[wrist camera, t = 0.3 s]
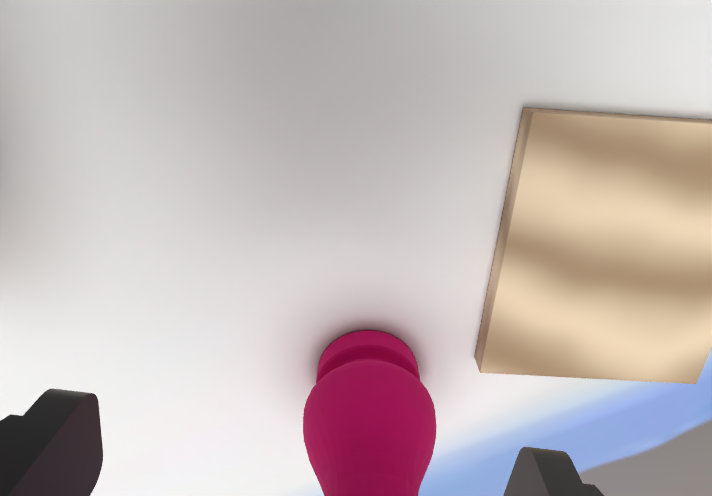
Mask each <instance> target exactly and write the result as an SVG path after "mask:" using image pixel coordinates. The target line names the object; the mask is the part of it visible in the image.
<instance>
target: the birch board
mask: <svg viewBox="0 0 712 496" xmlns="http://www.w3.org/2000/svg"><path fill="white" fill-rule="evenodd" d="M711 348H712V120H701V119H686V118H671V117H656V116H641V115H626V114H612V113H597V112H582V111H567V110H552V109H537V108H523V112H522V117H521V122H520V127H519V132H518V137H517V142H516V148H515V153H514V158H513V163H512V168H511V173H510V178H509V183H508V188H507V193H506V199H505V204H504V209H503V214H502V219H501V224H500V229H499V234H498V239H497V245H496V250H495V255H494V260H493V265H492V270H491V275H490V280H489V285H488V290H487V296H486V301H485V306H484V311H483V316H482V321H481V326H480V331H479V336H478V342H477V347H476V352H475V360H476V363H477V366H478V368H479V371H480V373H499V374H517V375H536V376H555V377H574V378H593V379H611V380H630V381H649V382H668V383H687V384H696V383H697V381H698V378H699V376H700V374H701V371H702V369H703V367H704V364H705V362H706V360H707V357H708V355H709V352H710V350H711Z"/></svg>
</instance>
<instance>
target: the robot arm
mask: <svg viewBox="0 0 712 496" xmlns="http://www.w3.org/2000/svg"><path fill="white" fill-rule="evenodd" d="M102 461H103V448H102V438H101V427H100V416H99V405H98V399H97V397H96V395H95V394H93V393H85V392H77V391H68V390H60V389H49V390H47V391H46V392H44V393H43V394H42V395H41V396H40V397H39V398H38V400H37V401H36V402H35V403H34V404H33V405H32V406H31V407H30V409H29V410H28V411H27V412H26V413H25V414H24V415H23V416H18V415H9V416H7V417H6V418H4V419H3V420H1V421H0V496H90V494H91V493H92V491H93V489H94V487H95V485H96V483H97V480H98V477H99V474H100V471H101V467H102ZM503 496H604V495H603V494H602V493H601V492H600V491H599V490H598V489H597V487H596V486H595V485H590V484H583V483H582V481H581V479H580V477H579V475H578V473H577V471H576V469H575V467H574V465H573V462H572V460H571V459H570V457H569V456H568V454H567V453H565V452H563V451H556V450H548V449H539V448H531V447H523V448H522V449H521V450H520V452H519V454H518V457H517V459H516V462H515V465H514V468H513V470H512V473H511V476H510V479H509V482H508V484H507V487H506V490H505V493H504V495H503Z"/></svg>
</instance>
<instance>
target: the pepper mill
mask: <svg viewBox="0 0 712 496" xmlns="http://www.w3.org/2000/svg"><path fill="white" fill-rule="evenodd" d="M303 434H304V442H305V445H306V449H307V453H308V457H309V461H310V463H311V465H312V468H313V470H314V472H315V474H316V476H317V479H318V481H319V483H320V485H321V488H322V491H323V493H324V496H418V492H419V488H420V485H421V482H422V480H423V477H424V475H425V472H426V470H427V468H428V465H429V463H430V460H431V457H432V454H433V449H434V444H435V439H436V418H435V409H434V404H433V402H432V399H431V397H430V395H429V393H428V391H427V389H426V388H425V387H424V385H423V384H422V383H421V382H420V377H419V372H418V366H417V362H416V359H415V357H414V355H413V353H412V351H411V350H410V349H409V347H408V346H407V345H406V344H405V343H403V342H402V341H401V340H399V339H398V338H396V337H394V336H392V335H390V334H387V333H383V332H379V331H371V330H367V331H357V332H352V333H349V334H347V335H344V336H342V337H340V338H338V339H337V340H335V341H334V342H333V343H331V344H330V345H329V346H328V347H327V349H326V350H325V351H324V353H323V354H322V356H321V358H320V361H319V364H318V371H317V379H316V385H315V387H314V388H313V389H312V390H311V393H310V395H309V397H308V399H307V401H306V405H305V408H304V417H303Z"/></svg>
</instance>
